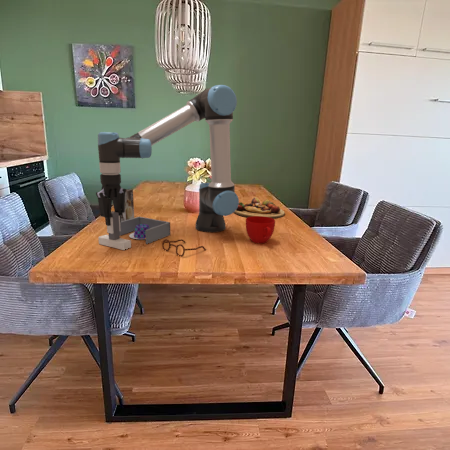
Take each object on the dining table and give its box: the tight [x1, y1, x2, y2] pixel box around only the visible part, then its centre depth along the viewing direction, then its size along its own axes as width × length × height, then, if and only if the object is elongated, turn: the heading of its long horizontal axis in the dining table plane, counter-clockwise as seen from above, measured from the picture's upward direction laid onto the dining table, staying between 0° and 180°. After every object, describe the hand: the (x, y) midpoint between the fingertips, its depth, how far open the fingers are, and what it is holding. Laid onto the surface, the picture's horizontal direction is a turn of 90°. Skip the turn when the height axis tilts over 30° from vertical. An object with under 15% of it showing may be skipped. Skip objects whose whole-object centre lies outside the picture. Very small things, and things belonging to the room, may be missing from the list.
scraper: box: [98, 210, 132, 251], centre depth 129 cm, size 14×4×14 cm, turn 62°
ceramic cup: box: [245, 216, 276, 244], centre depth 141 cm, size 13×17×10 cm
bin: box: [120, 216, 171, 245], centre depth 145 cm, size 19×16×6 cm
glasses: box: [161, 238, 207, 258], centre depth 130 cm, size 13×13×5 cm
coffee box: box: [121, 188, 135, 222], centre depth 168 cm, size 9×6×16 cm
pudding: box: [128, 224, 150, 240], centre depth 145 cm, size 12×12×5 cm
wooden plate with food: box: [233, 197, 285, 220], centre depth 197 cm, size 32×32×8 cm
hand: (114, 231), depth 130 cm, fingers closed on scraper, 3 cm apart
